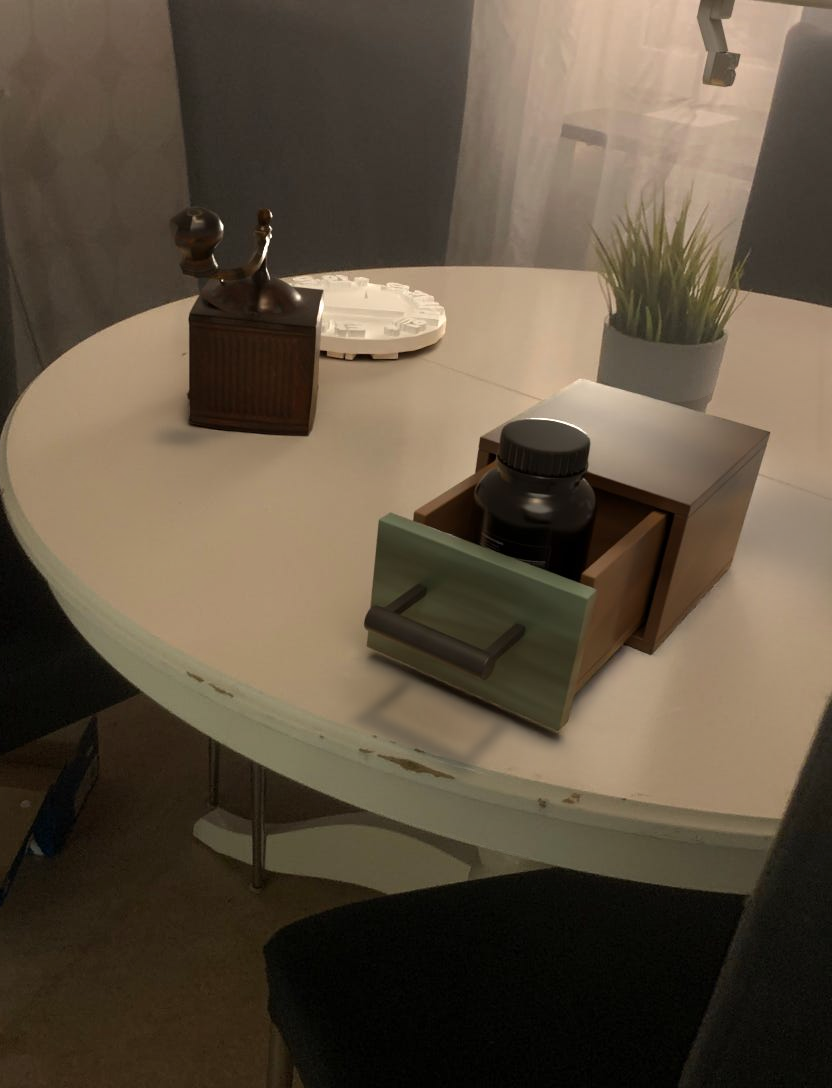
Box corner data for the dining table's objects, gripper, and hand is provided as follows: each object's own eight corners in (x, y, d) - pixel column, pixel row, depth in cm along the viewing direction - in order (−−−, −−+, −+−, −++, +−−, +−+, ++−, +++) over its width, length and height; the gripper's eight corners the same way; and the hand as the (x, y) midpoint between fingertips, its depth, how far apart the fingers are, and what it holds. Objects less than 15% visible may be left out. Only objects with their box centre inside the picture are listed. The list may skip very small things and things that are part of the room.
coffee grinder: (198, 381, 101) (197, 168, 91) (320, 391, 101) (333, 180, 91) (166, 451, 88) (162, 211, 78) (307, 462, 88) (320, 225, 78)
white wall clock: (296, 290, 126) (298, 263, 125) (464, 320, 122) (467, 293, 120) (220, 339, 110) (221, 310, 109) (410, 376, 106) (413, 345, 104)
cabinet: (651, 655, 68) (691, 505, 62) (459, 579, 74) (479, 436, 68) (731, 566, 78) (770, 431, 73) (556, 506, 84) (581, 377, 79)
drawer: (515, 779, 56) (542, 640, 51) (315, 684, 61) (324, 551, 57) (655, 628, 69) (686, 507, 64) (480, 562, 74) (498, 446, 70)
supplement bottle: (480, 582, 70) (508, 399, 63) (586, 614, 67) (627, 428, 61) (438, 633, 64) (465, 440, 58) (551, 669, 62) (592, 472, 56)
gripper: (1095, -180, 56) (990, 119, 64) (707, -192, 65) (654, 70, 73) (1082, -194, 52) (970, 129, 59) (667, -205, 61) (615, 76, 69)
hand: (793, 96), depth 66 cm, fingers open, 8 cm apart
